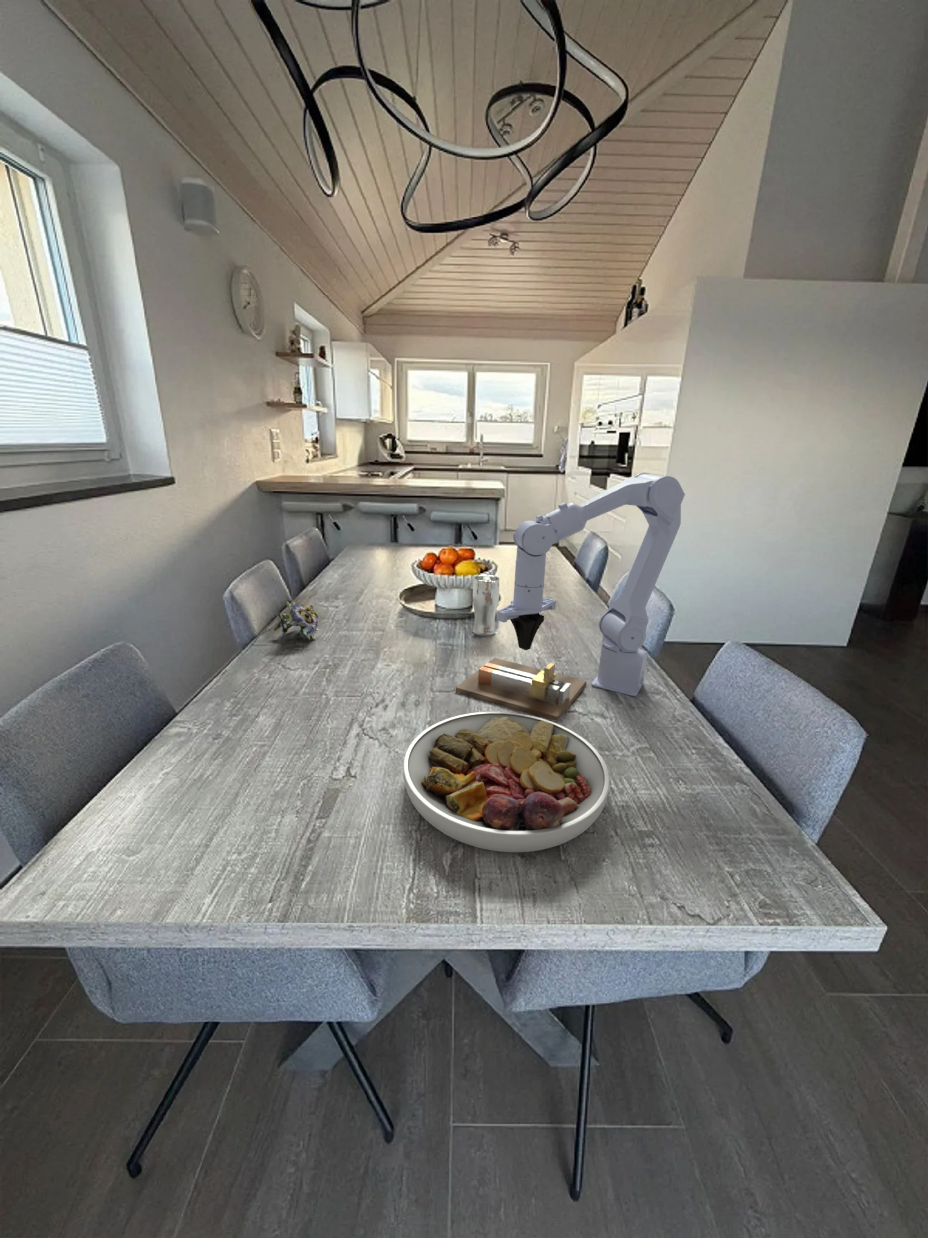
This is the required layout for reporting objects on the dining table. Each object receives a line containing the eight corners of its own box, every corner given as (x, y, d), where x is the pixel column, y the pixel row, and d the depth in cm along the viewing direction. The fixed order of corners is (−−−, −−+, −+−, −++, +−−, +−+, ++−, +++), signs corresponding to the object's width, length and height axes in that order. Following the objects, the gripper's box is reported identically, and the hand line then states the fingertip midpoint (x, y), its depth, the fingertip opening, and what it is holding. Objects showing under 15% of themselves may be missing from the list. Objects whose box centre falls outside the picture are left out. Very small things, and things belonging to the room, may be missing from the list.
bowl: (383, 752, 88) (383, 710, 85) (543, 725, 98) (547, 686, 95) (438, 893, 61) (439, 839, 59) (649, 835, 71) (659, 787, 69)
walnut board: (586, 685, 113) (586, 680, 113) (557, 721, 98) (557, 716, 98) (494, 661, 123) (494, 657, 123) (455, 691, 108) (455, 687, 108)
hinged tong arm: (563, 695, 106) (565, 681, 105) (559, 700, 104) (561, 686, 103) (487, 674, 114) (488, 661, 113) (482, 679, 112) (483, 665, 111)
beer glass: (487, 638, 137) (490, 583, 132) (465, 632, 141) (468, 578, 136) (502, 631, 142) (505, 577, 137) (481, 625, 146) (483, 573, 141)
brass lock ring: (554, 688, 107) (556, 661, 105) (543, 699, 102) (546, 672, 100) (540, 684, 108) (542, 658, 106) (529, 695, 103) (531, 668, 101)
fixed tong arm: (569, 698, 105) (570, 683, 104) (562, 706, 102) (563, 691, 101) (487, 675, 114) (488, 662, 113) (478, 683, 110) (478, 669, 109)
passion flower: (313, 659, 134) (316, 633, 125) (268, 653, 132) (268, 626, 123) (320, 623, 141) (323, 596, 132) (277, 617, 139) (277, 589, 129)
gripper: (540, 574, 110) (535, 634, 115) (487, 584, 101) (484, 649, 106) (565, 581, 105) (559, 645, 109) (513, 593, 96) (508, 661, 101)
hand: (524, 648), depth 107 cm, fingers closed
